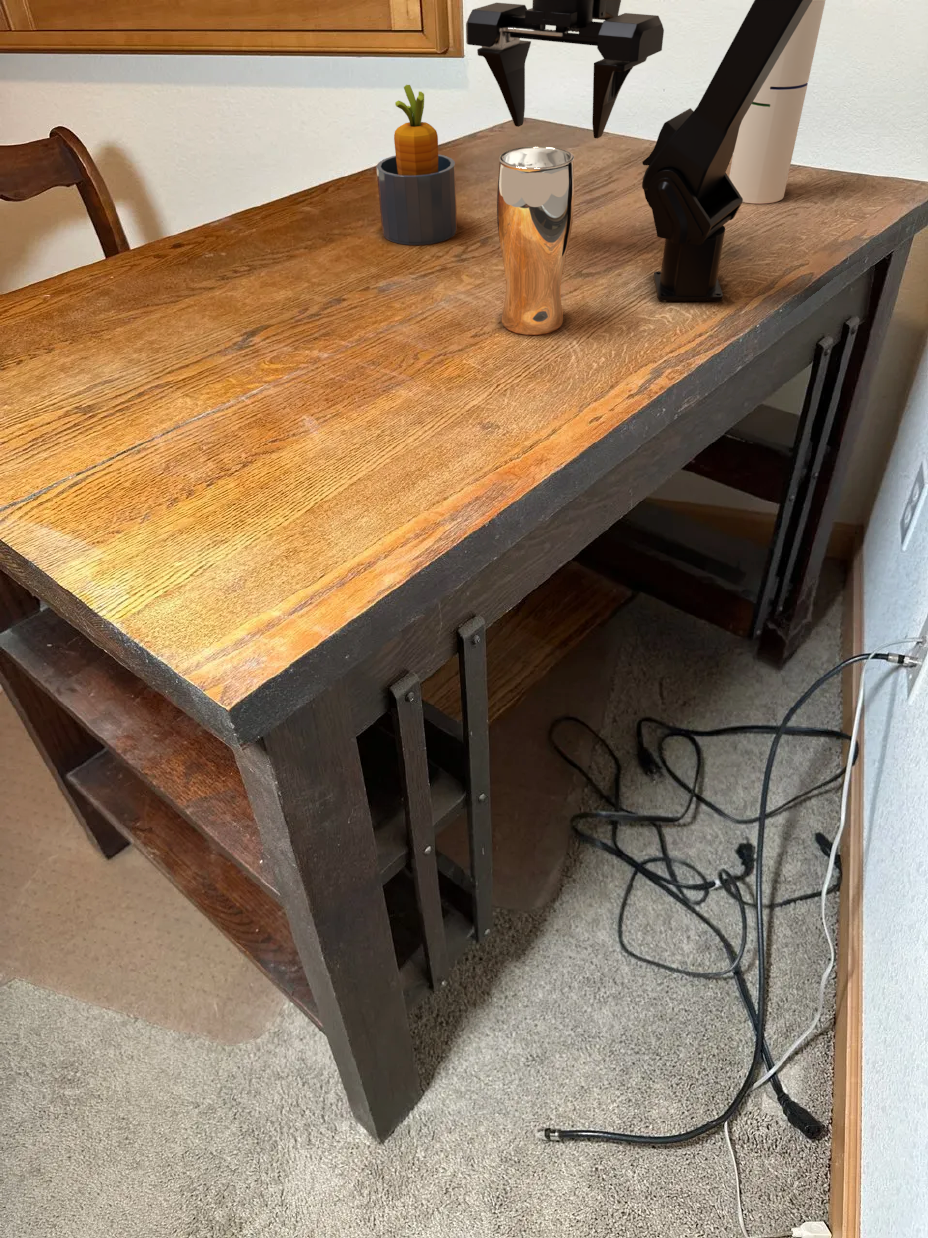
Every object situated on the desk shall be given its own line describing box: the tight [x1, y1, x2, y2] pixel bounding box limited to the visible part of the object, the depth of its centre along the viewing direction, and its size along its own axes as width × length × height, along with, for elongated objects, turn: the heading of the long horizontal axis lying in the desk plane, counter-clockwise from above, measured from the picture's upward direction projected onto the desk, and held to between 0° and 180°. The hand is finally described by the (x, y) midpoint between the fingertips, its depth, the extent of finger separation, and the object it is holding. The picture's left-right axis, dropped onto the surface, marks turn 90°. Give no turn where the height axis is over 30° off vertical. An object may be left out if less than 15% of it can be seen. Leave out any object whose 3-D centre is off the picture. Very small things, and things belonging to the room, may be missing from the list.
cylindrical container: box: [728, 0, 826, 205], centre depth 103 cm, size 7×7×25 cm
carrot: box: [393, 84, 439, 175], centre depth 100 cm, size 5×5×15 cm
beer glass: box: [496, 145, 575, 336], centre depth 81 cm, size 7×7×15 cm
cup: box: [376, 153, 458, 246], centre depth 103 cm, size 9×9×8 cm
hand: (557, 131), depth 89 cm, fingers open, 9 cm apart
